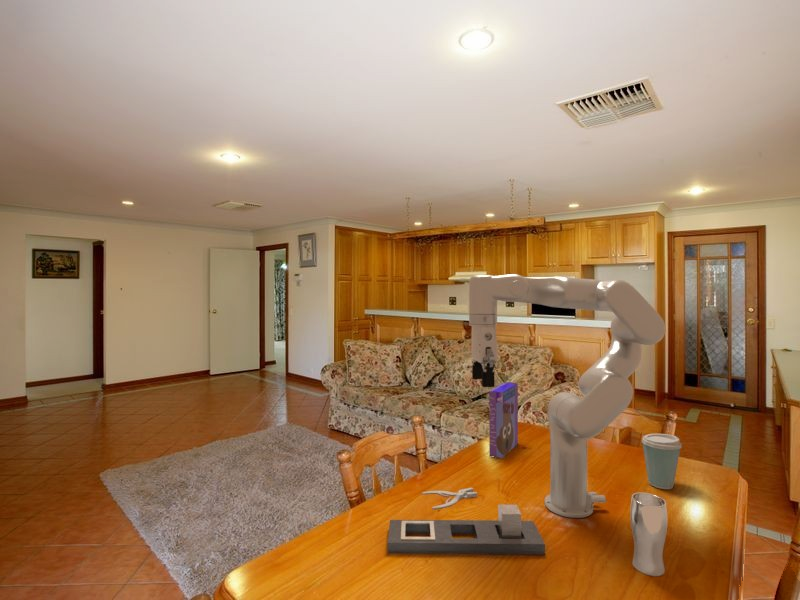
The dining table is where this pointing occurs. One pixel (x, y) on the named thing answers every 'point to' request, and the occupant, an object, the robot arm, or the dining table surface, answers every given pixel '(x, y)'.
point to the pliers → (461, 494)
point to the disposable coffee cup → (661, 459)
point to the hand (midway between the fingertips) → (482, 382)
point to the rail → (445, 544)
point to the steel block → (509, 522)
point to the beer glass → (648, 532)
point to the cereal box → (503, 419)
